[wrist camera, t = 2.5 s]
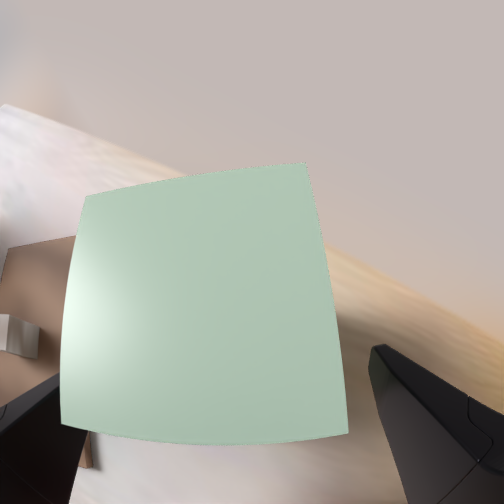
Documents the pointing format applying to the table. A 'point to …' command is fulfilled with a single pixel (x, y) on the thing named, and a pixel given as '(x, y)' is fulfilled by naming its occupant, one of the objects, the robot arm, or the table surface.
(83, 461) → the brown board
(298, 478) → the table surface
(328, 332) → the mint green prism
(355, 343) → the table surface
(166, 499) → the table surface
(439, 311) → the table surface
